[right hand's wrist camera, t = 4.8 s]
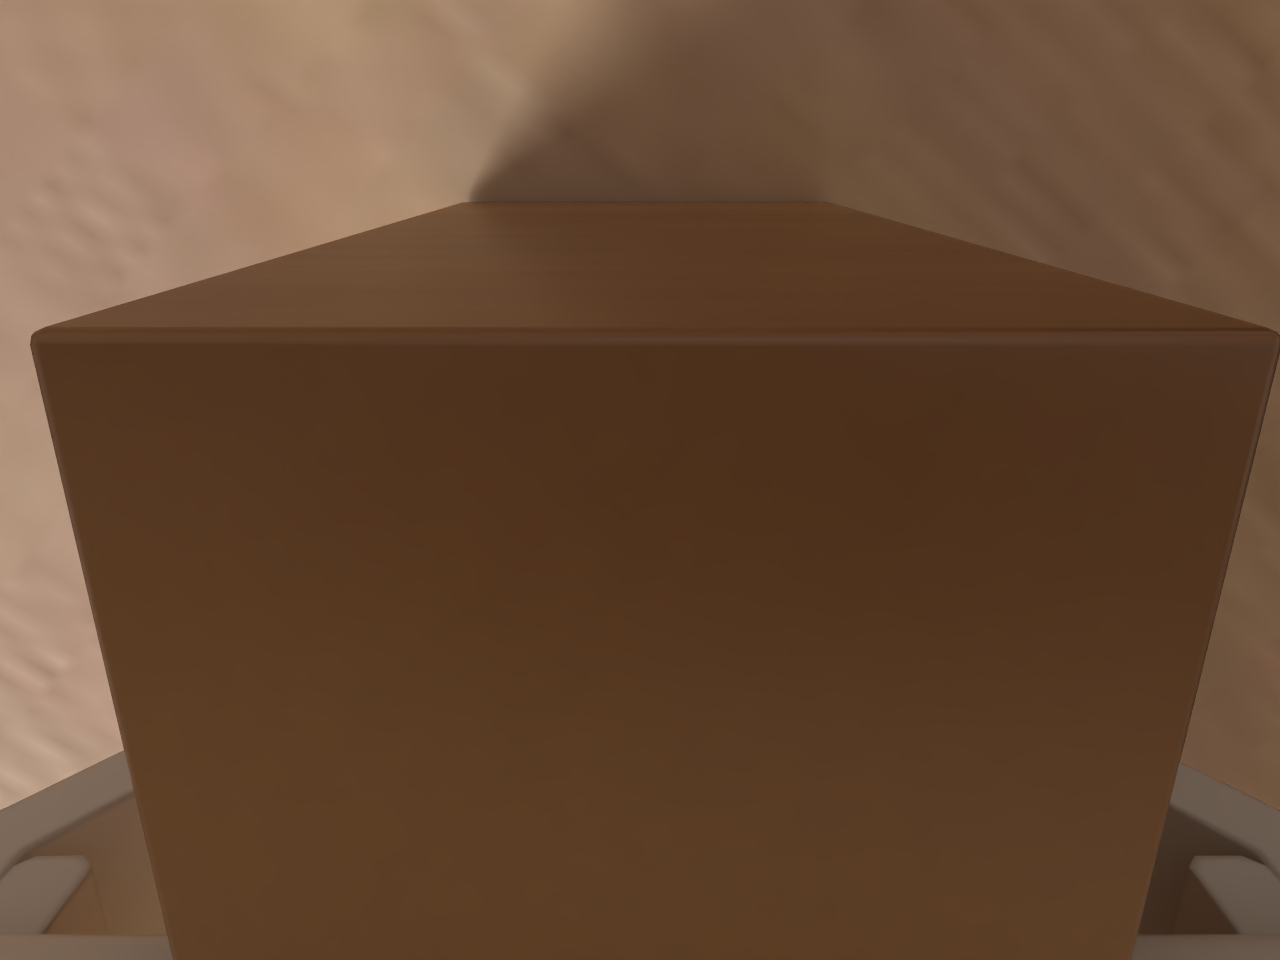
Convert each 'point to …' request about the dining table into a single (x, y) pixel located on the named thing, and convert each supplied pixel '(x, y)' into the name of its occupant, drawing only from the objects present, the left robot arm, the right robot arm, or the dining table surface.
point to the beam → (653, 585)
